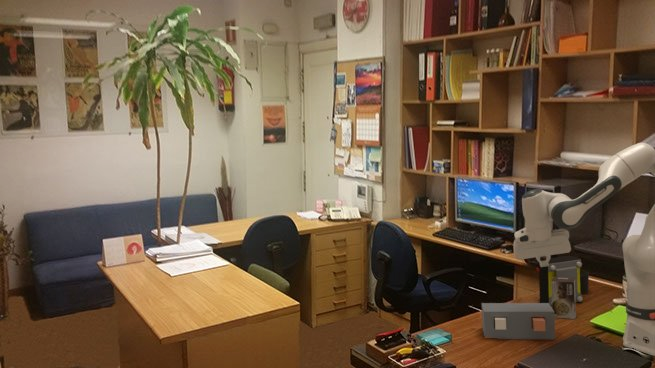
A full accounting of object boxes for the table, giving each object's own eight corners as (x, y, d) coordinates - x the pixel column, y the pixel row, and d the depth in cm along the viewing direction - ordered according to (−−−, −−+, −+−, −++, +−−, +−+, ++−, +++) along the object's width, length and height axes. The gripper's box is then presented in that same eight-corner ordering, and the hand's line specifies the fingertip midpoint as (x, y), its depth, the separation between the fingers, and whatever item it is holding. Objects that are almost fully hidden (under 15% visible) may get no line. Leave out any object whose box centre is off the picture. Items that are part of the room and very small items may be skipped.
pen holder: (573, 288, 270) (573, 268, 269) (592, 291, 263) (592, 271, 262) (563, 292, 265) (563, 272, 264) (583, 296, 257) (582, 275, 256)
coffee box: (576, 314, 235) (575, 277, 233) (575, 319, 229) (574, 282, 227) (553, 312, 239) (552, 276, 237) (551, 317, 233) (551, 280, 231)
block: (555, 339, 210) (554, 311, 209) (484, 338, 215) (483, 311, 213) (549, 329, 220) (548, 303, 219) (482, 329, 225) (481, 303, 224)
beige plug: (506, 329, 211) (506, 319, 210) (495, 329, 212) (495, 319, 211) (502, 319, 221) (502, 310, 221) (492, 319, 222) (492, 310, 222)
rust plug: (545, 331, 207) (545, 320, 206) (534, 331, 208) (534, 320, 207) (540, 321, 217) (539, 311, 217) (529, 321, 218) (529, 311, 217)
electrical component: (551, 308, 244) (550, 264, 242) (537, 301, 254) (536, 259, 252) (584, 302, 249) (584, 259, 247) (569, 296, 258) (568, 255, 257)
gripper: (566, 224, 205) (571, 258, 208) (510, 233, 210) (515, 266, 213) (570, 230, 199) (575, 265, 202) (512, 239, 204) (518, 273, 207)
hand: (544, 266), depth 208 cm, fingers closed
